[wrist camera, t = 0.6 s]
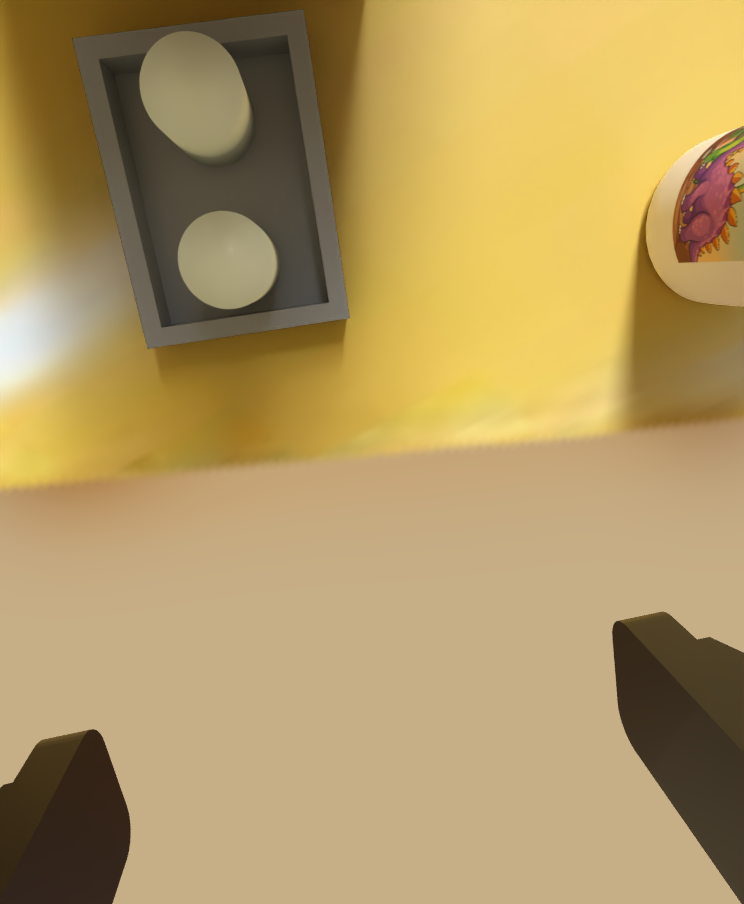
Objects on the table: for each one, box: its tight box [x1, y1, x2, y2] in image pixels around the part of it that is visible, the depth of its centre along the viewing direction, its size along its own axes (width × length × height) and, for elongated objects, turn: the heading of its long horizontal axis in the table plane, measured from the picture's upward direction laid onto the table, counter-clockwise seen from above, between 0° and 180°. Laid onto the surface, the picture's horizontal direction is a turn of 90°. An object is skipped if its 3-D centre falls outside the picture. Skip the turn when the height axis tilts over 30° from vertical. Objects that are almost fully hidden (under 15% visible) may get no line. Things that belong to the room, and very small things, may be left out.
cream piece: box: [178, 211, 280, 309], centre depth 26 cm, size 4×4×5 cm
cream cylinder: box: [139, 31, 255, 167], centre depth 24 cm, size 4×4×5 cm
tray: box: [72, 9, 350, 349], centre depth 27 cm, size 12×9×3 cm
